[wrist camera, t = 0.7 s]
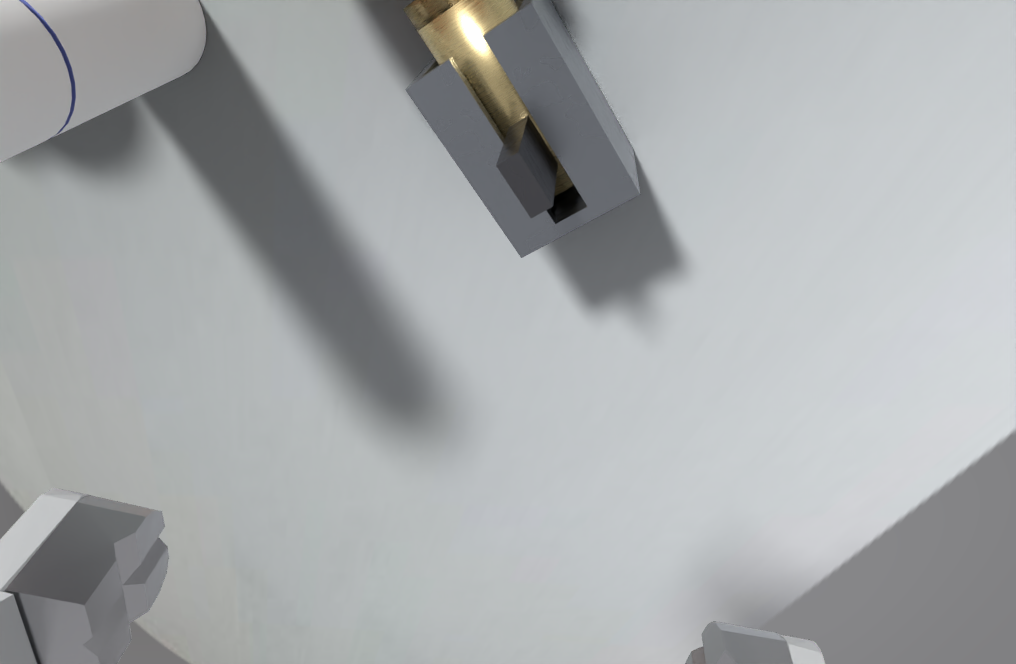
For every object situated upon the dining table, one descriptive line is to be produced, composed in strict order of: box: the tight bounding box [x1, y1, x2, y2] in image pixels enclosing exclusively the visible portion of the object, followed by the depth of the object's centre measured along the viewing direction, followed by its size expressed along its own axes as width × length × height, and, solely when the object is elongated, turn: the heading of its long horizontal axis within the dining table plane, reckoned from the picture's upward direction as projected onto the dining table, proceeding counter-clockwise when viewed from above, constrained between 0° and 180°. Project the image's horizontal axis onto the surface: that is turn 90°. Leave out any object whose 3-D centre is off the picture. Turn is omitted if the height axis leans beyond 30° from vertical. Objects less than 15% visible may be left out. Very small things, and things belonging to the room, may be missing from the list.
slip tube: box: [403, 0, 574, 218], centre depth 35 cm, size 5×12×11 cm, turn 32°
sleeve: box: [406, 0, 640, 258], centre depth 38 cm, size 7×11×7 cm
